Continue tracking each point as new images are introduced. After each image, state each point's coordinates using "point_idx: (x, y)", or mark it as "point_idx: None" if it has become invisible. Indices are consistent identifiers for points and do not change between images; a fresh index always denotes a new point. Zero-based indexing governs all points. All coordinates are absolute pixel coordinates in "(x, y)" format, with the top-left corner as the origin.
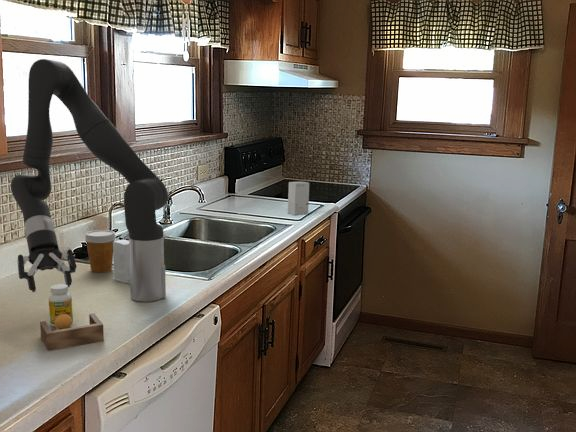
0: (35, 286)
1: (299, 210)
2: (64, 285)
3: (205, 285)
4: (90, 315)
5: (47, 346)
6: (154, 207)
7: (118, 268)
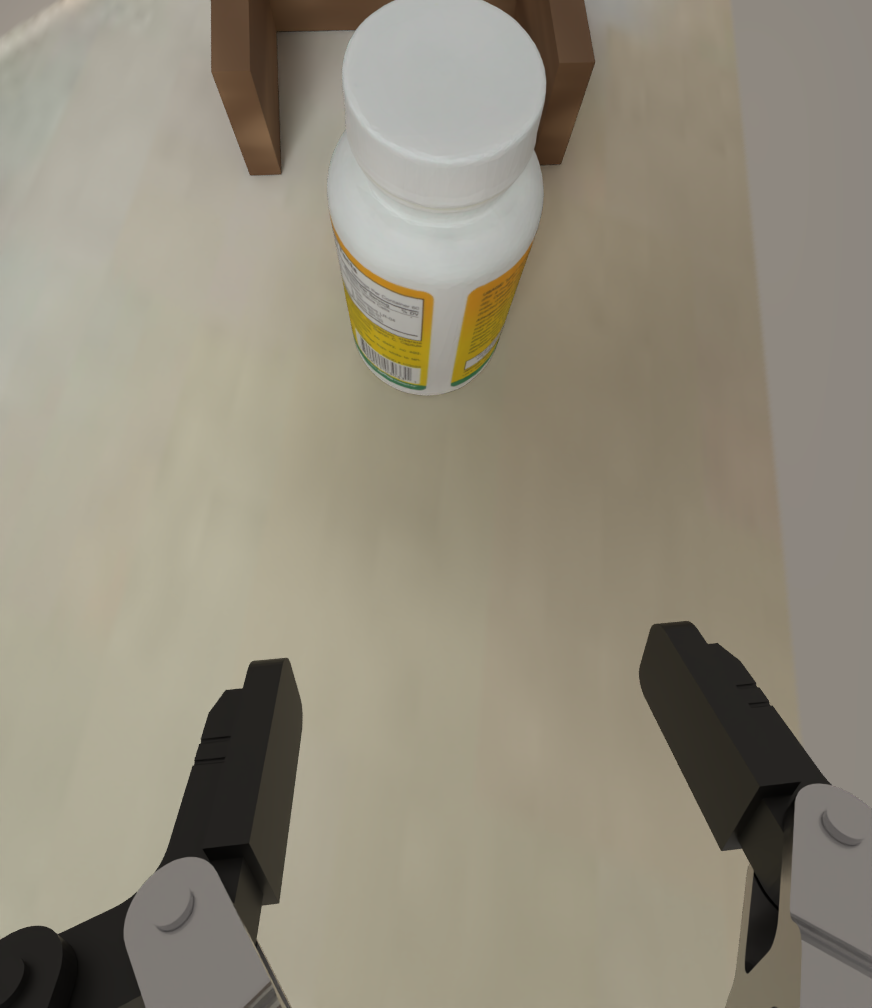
0: (667, 633)
1: None
2: (379, 83)
3: None
4: (248, 41)
5: None
6: None
7: None
